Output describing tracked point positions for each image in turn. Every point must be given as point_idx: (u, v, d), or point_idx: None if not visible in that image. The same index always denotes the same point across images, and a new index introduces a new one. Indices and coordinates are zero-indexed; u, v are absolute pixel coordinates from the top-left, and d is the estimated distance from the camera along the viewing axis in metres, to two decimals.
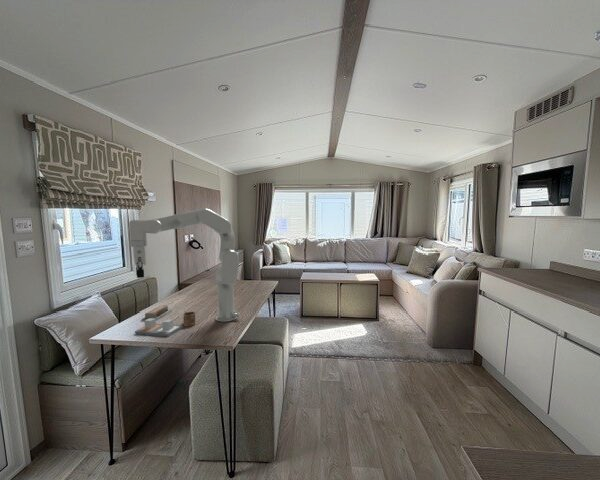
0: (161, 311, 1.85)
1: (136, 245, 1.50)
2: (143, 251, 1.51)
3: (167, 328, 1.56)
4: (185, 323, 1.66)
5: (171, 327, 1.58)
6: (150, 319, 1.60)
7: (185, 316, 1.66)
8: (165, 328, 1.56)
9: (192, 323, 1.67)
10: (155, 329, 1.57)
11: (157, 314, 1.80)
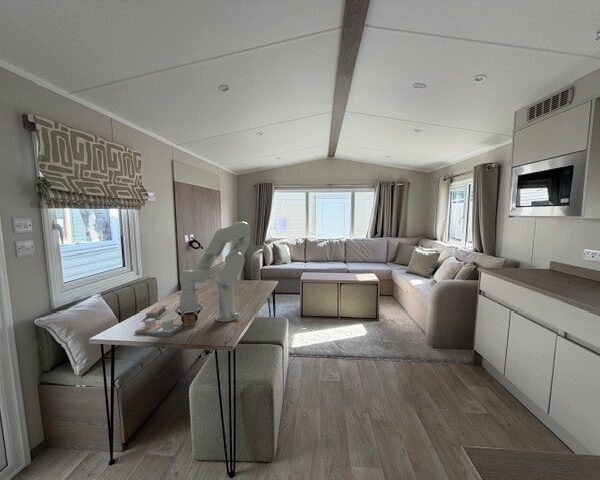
0: (161, 311, 1.85)
1: (195, 292, 1.68)
2: None
3: (167, 328, 1.56)
4: (185, 323, 1.66)
5: (171, 327, 1.58)
6: (150, 319, 1.60)
7: (185, 316, 1.66)
8: (165, 328, 1.56)
9: (192, 323, 1.67)
10: (155, 329, 1.57)
11: (158, 314, 1.81)
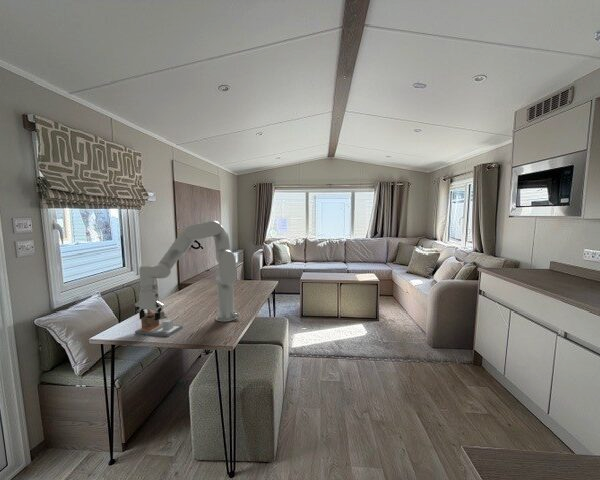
0: None
1: (152, 290, 1.57)
2: (158, 294, 1.60)
3: (167, 328, 1.56)
4: (143, 326, 1.58)
5: (171, 327, 1.58)
6: None
7: (143, 319, 1.57)
8: (165, 328, 1.56)
9: (149, 327, 1.57)
10: (155, 329, 1.57)
11: None
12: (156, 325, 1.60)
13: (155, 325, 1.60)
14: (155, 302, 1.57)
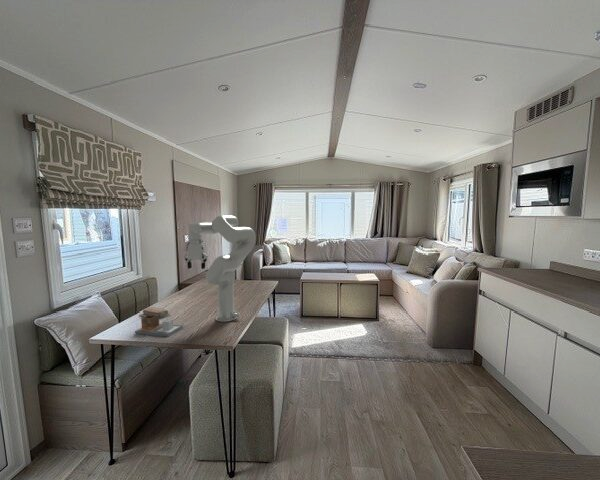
0: None
1: (199, 243, 1.88)
2: (203, 247, 1.91)
3: (167, 328, 1.56)
4: (143, 326, 1.58)
5: (171, 327, 1.58)
6: None
7: (143, 319, 1.57)
8: (165, 328, 1.56)
9: (149, 327, 1.57)
10: (155, 329, 1.57)
11: None
12: (156, 325, 1.60)
13: (155, 325, 1.60)
14: (201, 253, 1.88)
